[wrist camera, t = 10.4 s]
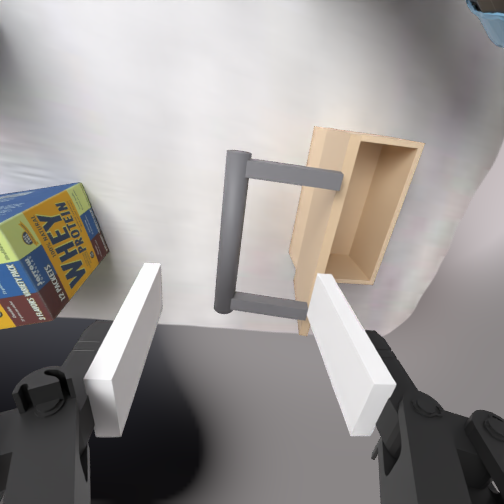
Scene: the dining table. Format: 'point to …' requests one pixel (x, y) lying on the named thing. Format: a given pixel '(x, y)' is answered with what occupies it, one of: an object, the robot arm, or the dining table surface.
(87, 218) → the protein box
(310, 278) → the flap
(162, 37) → the dining table surface
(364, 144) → the carton
